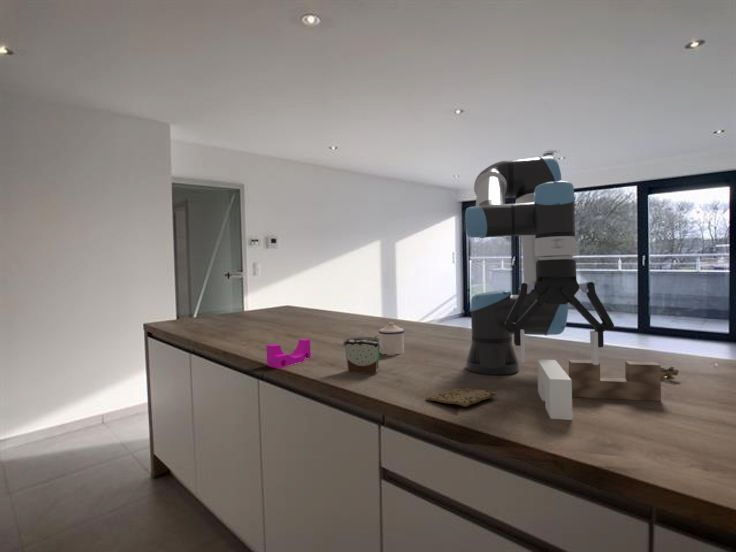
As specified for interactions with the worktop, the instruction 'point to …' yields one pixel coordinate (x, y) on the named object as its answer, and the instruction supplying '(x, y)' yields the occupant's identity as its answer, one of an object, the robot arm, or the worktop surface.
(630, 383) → the walnut notched block
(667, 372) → the frog figurine
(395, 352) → the teacup with lid
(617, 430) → the worktop surface
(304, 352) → the toy block
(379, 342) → the food container
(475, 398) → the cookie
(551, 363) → the white bridge
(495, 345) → the robot arm
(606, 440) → the worktop surface
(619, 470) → the worktop surface
